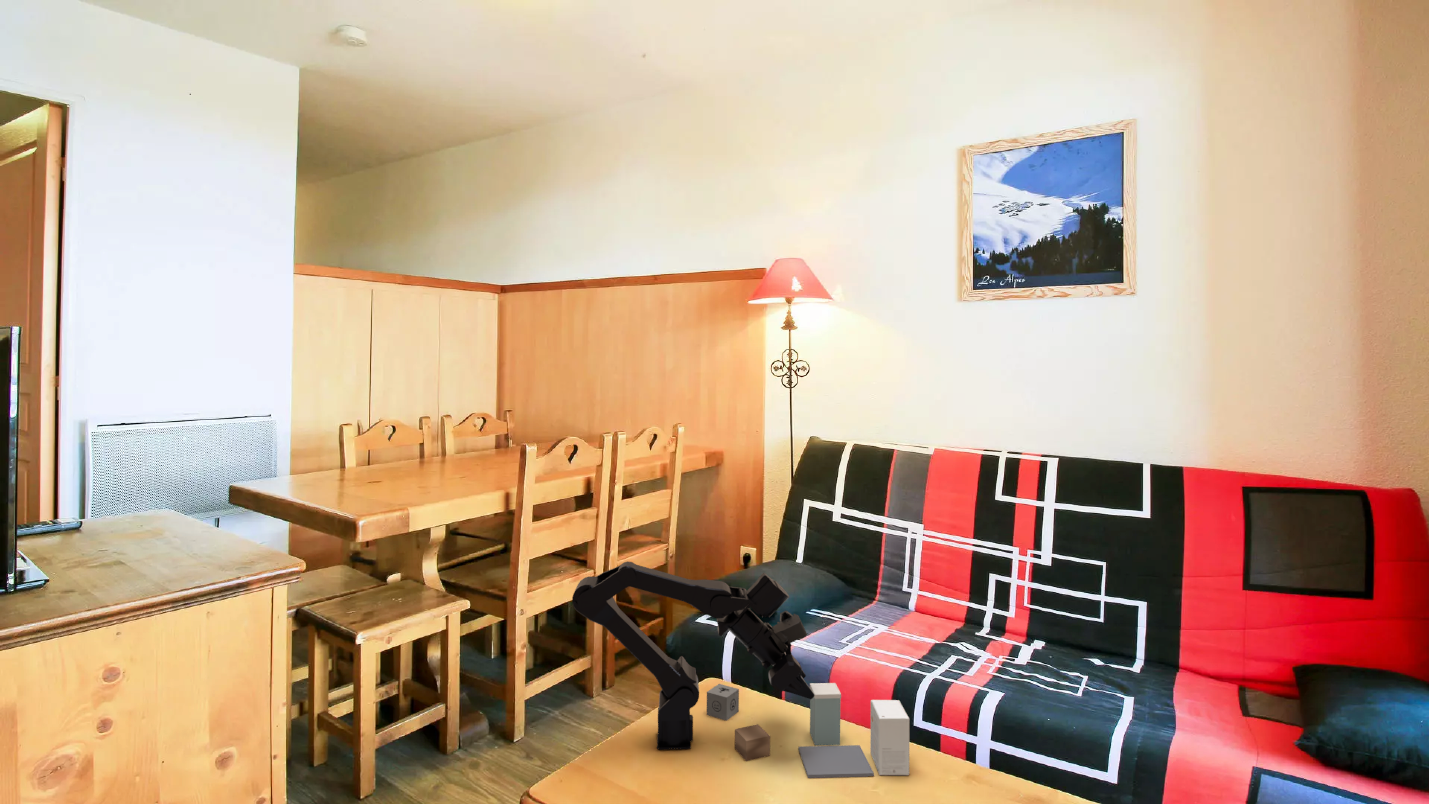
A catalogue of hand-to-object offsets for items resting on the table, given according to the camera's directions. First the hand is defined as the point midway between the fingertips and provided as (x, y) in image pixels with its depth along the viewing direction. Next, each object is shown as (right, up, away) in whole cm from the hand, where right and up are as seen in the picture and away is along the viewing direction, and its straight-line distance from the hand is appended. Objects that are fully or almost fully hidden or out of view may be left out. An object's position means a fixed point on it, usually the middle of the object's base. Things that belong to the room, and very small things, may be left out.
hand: (808, 687), depth 143 cm
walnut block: (-11, -11, -5) cm, 16 cm away
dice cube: (-17, -10, +11) cm, 23 cm away
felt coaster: (+4, -11, -9) cm, 14 cm away
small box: (+14, -11, -9) cm, 20 cm away
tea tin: (+3, -10, 0) cm, 11 cm away
